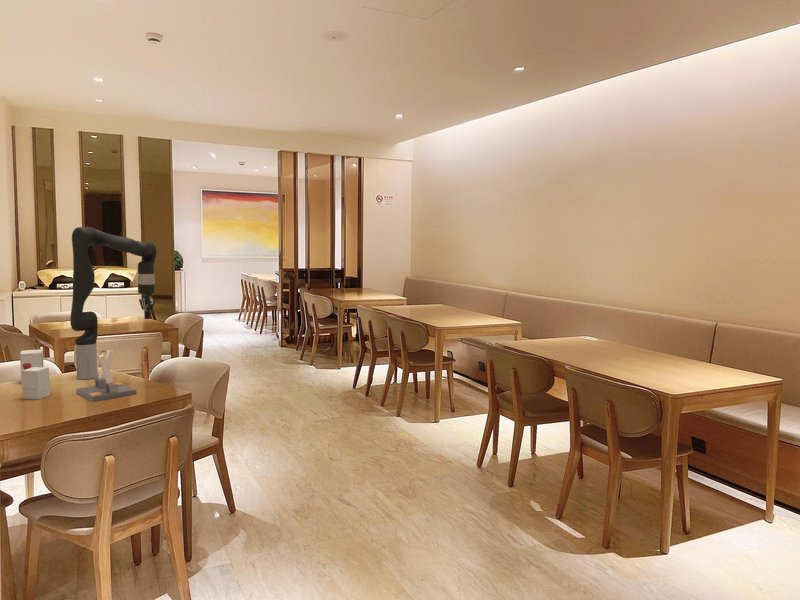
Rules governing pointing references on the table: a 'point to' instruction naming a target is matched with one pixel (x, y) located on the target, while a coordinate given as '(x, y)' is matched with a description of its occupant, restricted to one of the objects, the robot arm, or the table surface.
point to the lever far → (108, 358)
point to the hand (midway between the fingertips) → (147, 318)
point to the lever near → (105, 369)
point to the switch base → (105, 391)
